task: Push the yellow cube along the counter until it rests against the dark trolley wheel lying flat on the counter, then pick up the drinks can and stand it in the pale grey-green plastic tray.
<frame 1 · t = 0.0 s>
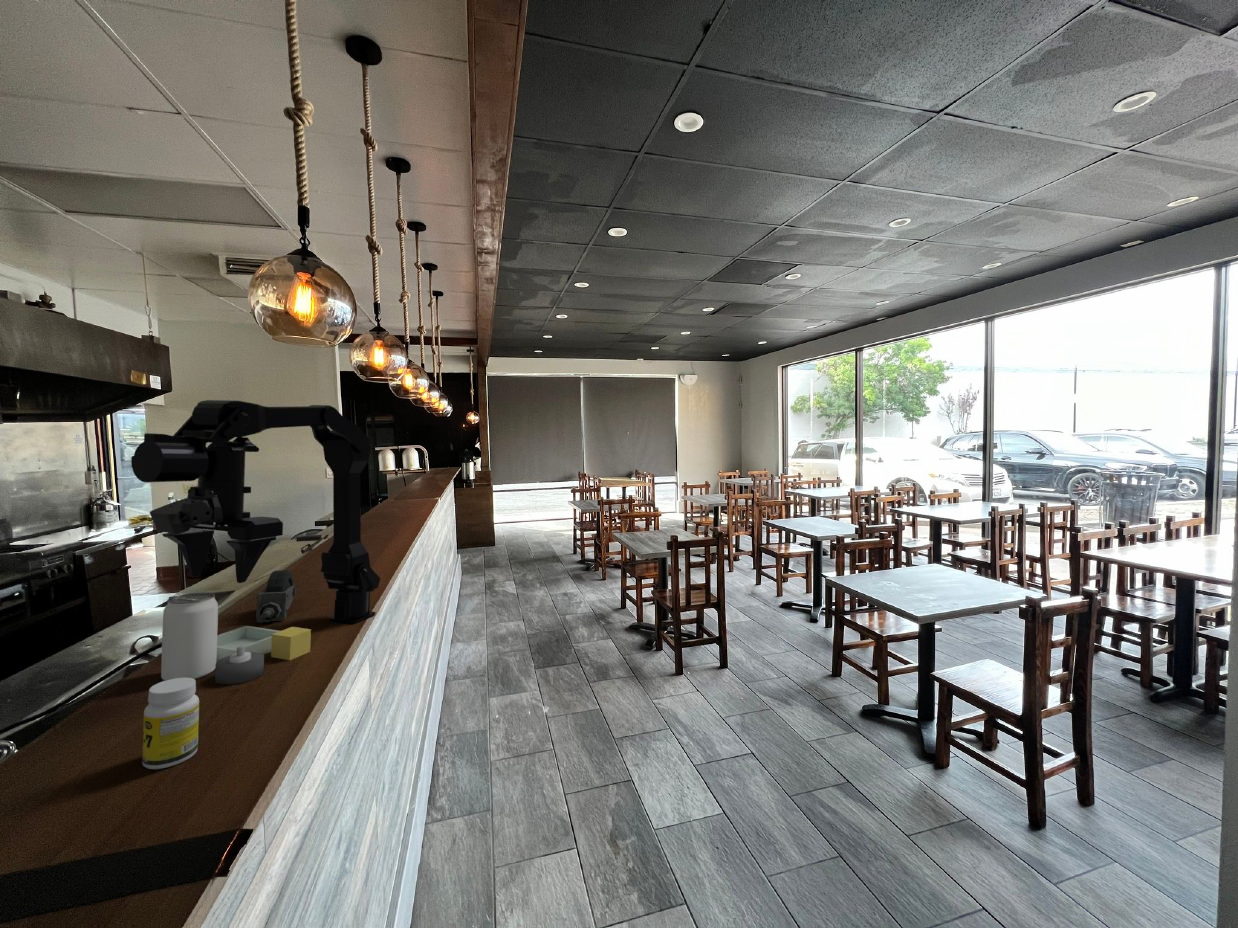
hand: (218, 579, 77), 15 cm above the counter, tool pointing down, fingers open, 9 cm apart
trolley wheel: (239, 675, 77), on the counter
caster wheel: (275, 618, 104), on the counter
can: (189, 675, 77), on the counter
yellow cube: (290, 654, 86), on the counter
tray: (241, 651, 86), on the counter
supplement bottle: (170, 759, 56), on the counter
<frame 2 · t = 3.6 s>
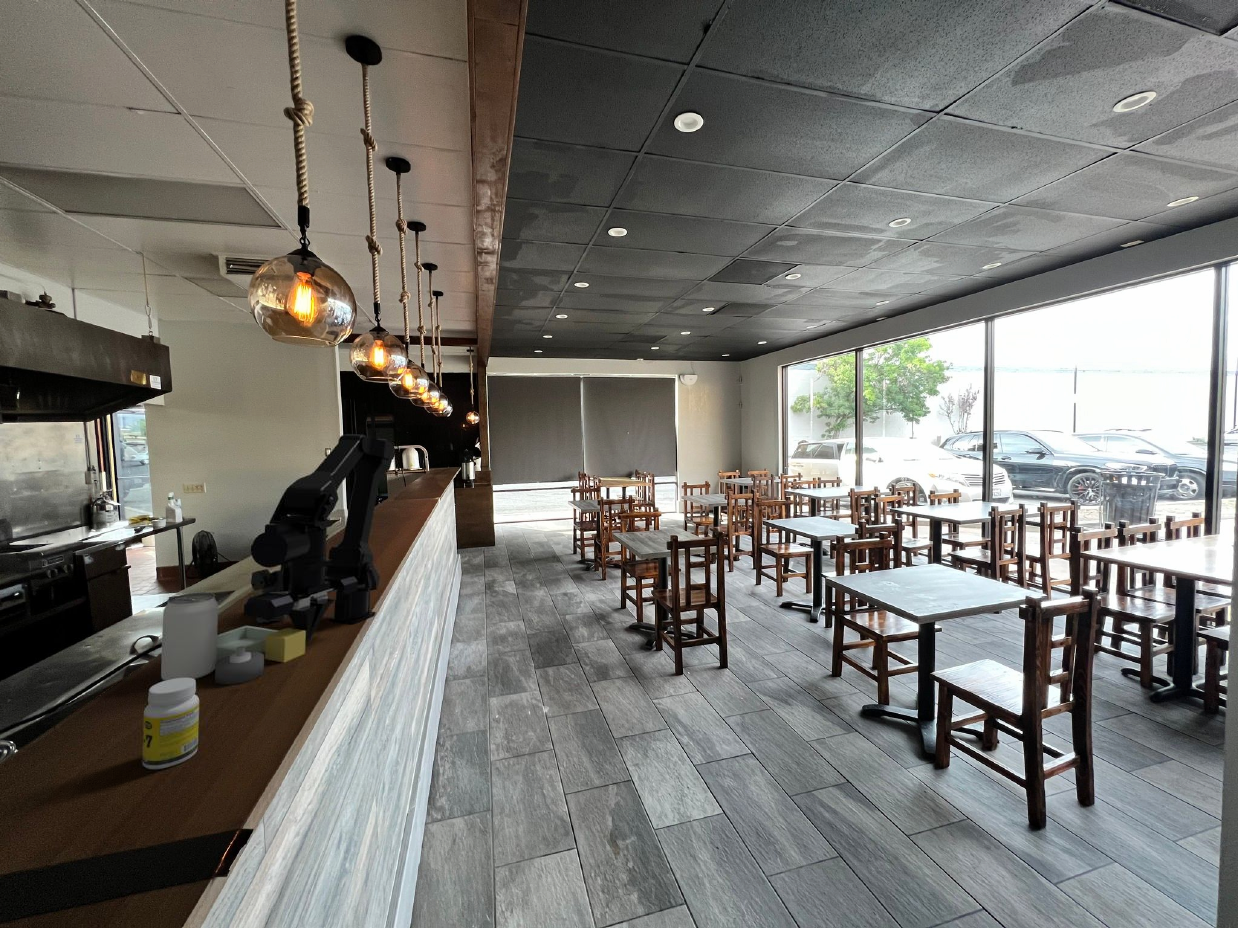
hand: (304, 642, 88), 1 cm above the counter, tool pointing down, fingers closed
yellow cube: (285, 656, 85), on the counter, touching gripper
everything else where it was.
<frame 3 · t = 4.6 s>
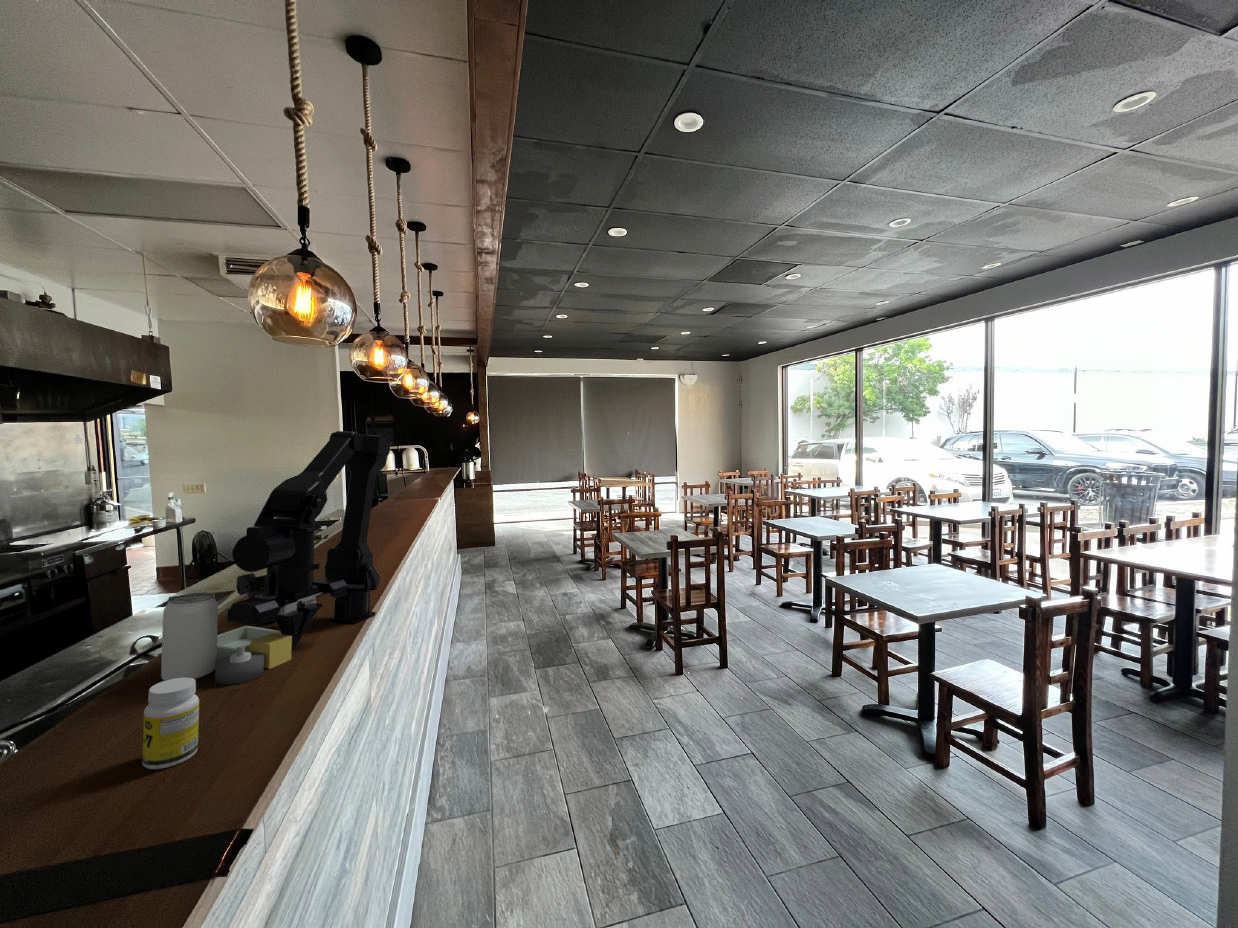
hand: (291, 647, 86), 1 cm above the counter, tool pointing down, fingers closed
yellow cube: (270, 662, 82), on the counter, touching gripper
everything else where it was.
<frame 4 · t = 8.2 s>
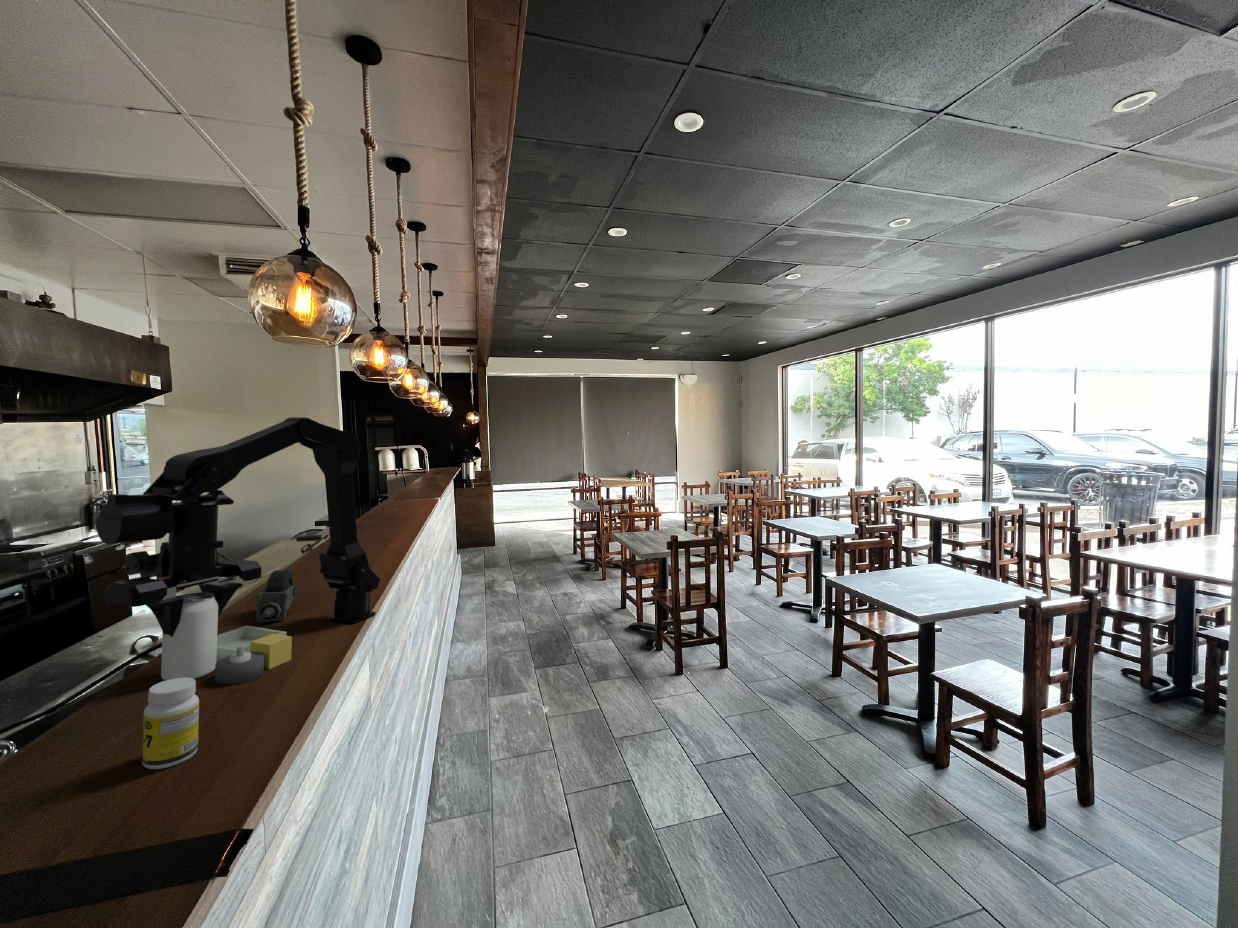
hand: (189, 635, 77), 6 cm above the counter, tool pointing down, fingers closed on can, 5 cm apart
can: (189, 675, 77), on the counter, touching gripper
yellow cube: (270, 662, 82), on the counter
everything else where it was.
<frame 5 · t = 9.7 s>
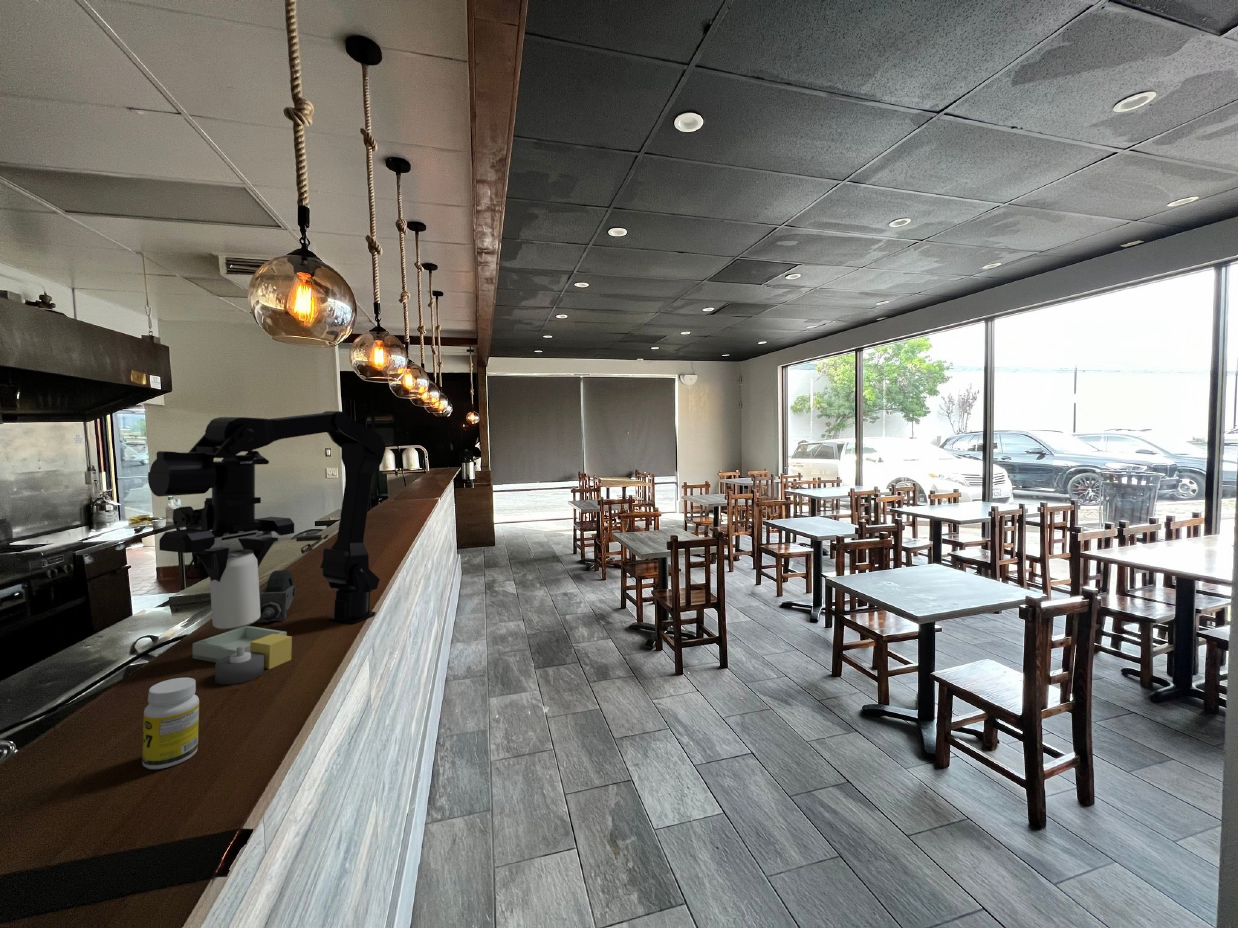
hand: (233, 583, 84), 12 cm above the counter, tool pointing down, fingers closed on can, 5 cm apart
can: (237, 623, 84), point 5 cm above the counter, touching gripper
everything else where it was.
when the fingers open (8 cm above the counter, at t = 11.0 s): can drops 1 cm, resting on tray.
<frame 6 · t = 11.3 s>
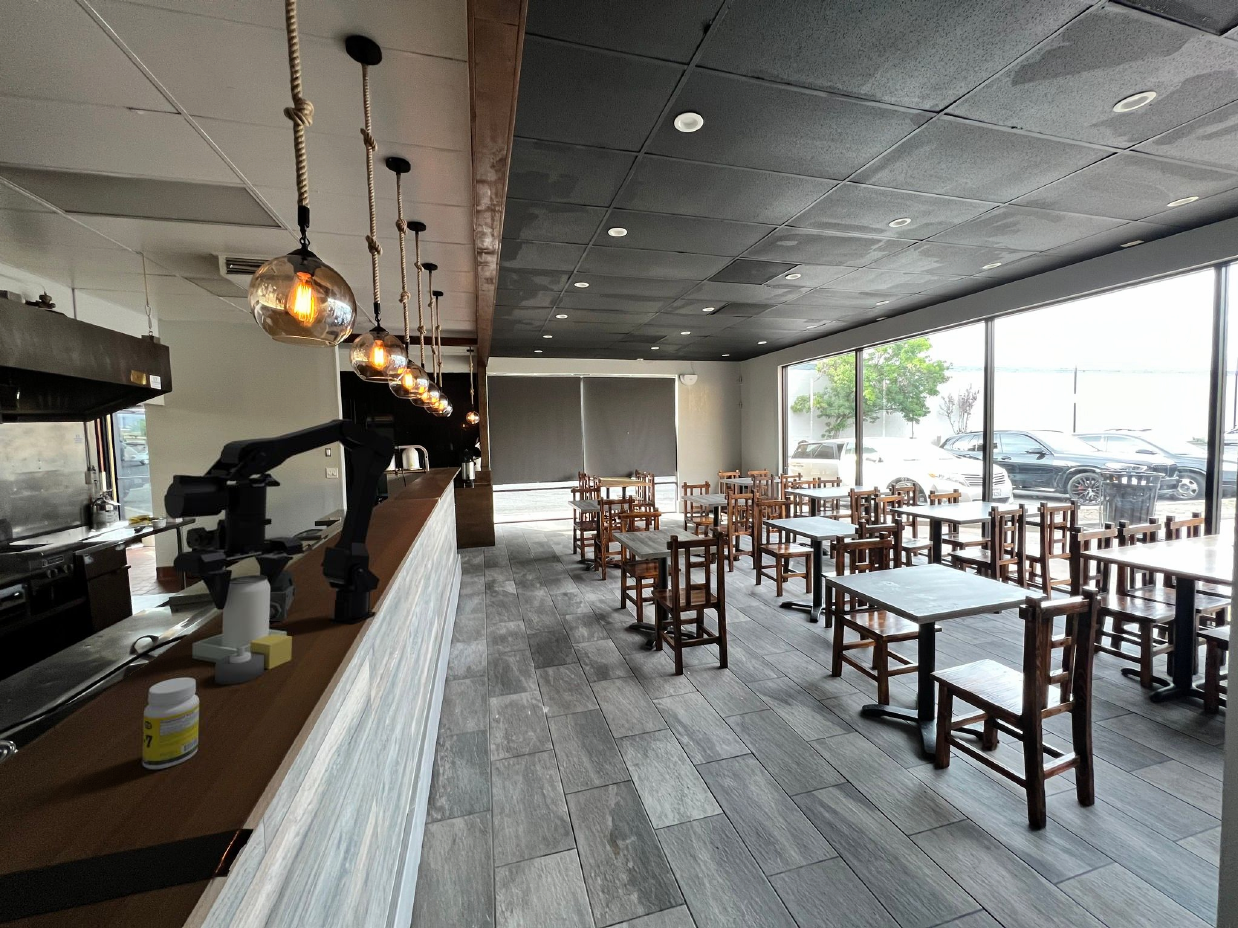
hand: (242, 602, 86), 8 cm above the counter, tool pointing down, fingers open, 7 cm apart
can: (245, 648, 86), resting on tray
everything else where it was.
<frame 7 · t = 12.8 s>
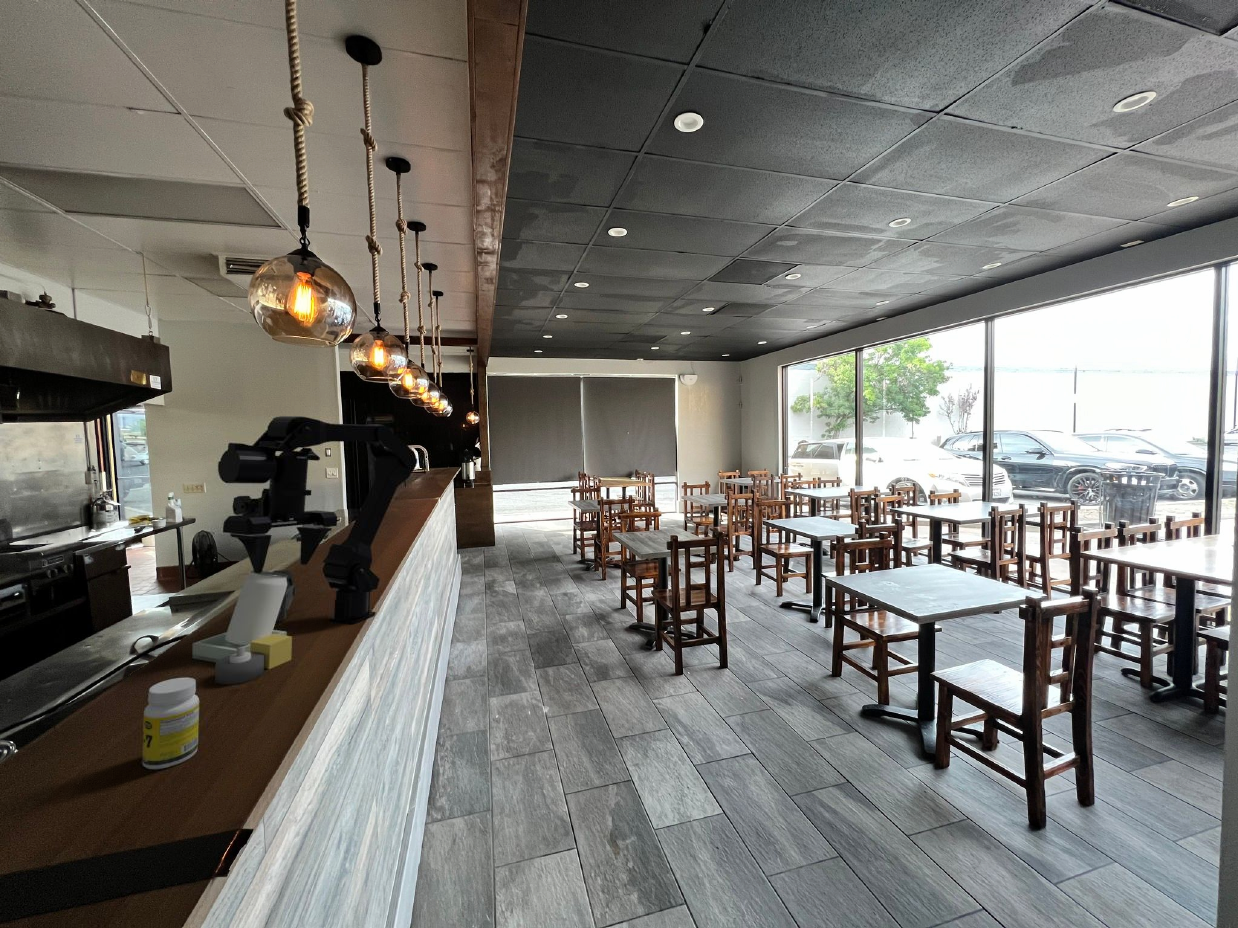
hand: (282, 568, 91), 13 cm above the counter, tool pointing down, fingers open, 9 cm apart
can: (246, 643, 86), point 1 cm above the counter, touching gripper, tray
everything else where it was.
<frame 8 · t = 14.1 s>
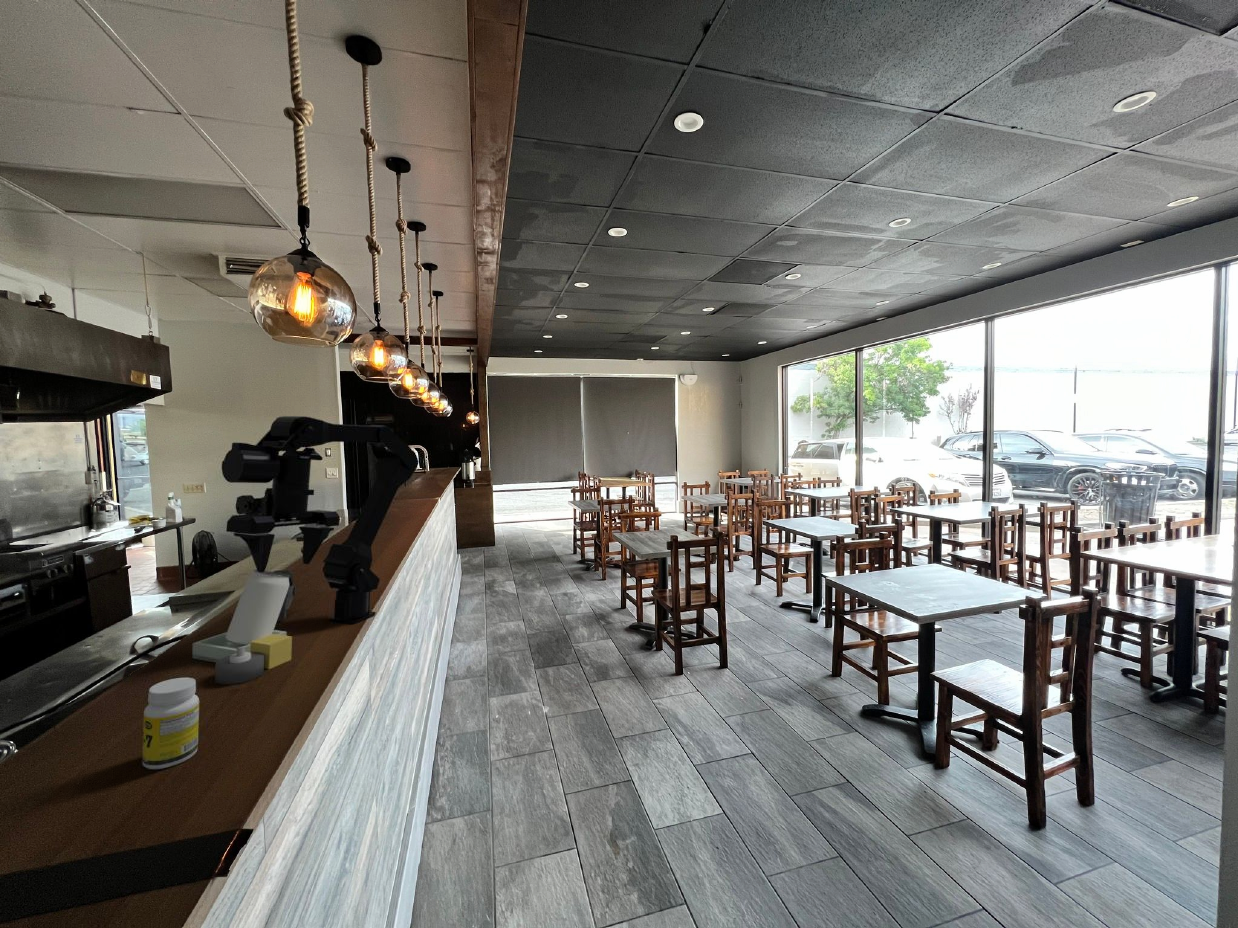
hand: (284, 567, 91), 14 cm above the counter, tool pointing down, fingers open, 9 cm apart
nothing on the counter moved.
at the end: can 0.7 cm off-centre on the tray, point 1.4 cm above the tray's base; can tilted 18°; yellow cube 0.2 cm from the target spot, on the counter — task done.
